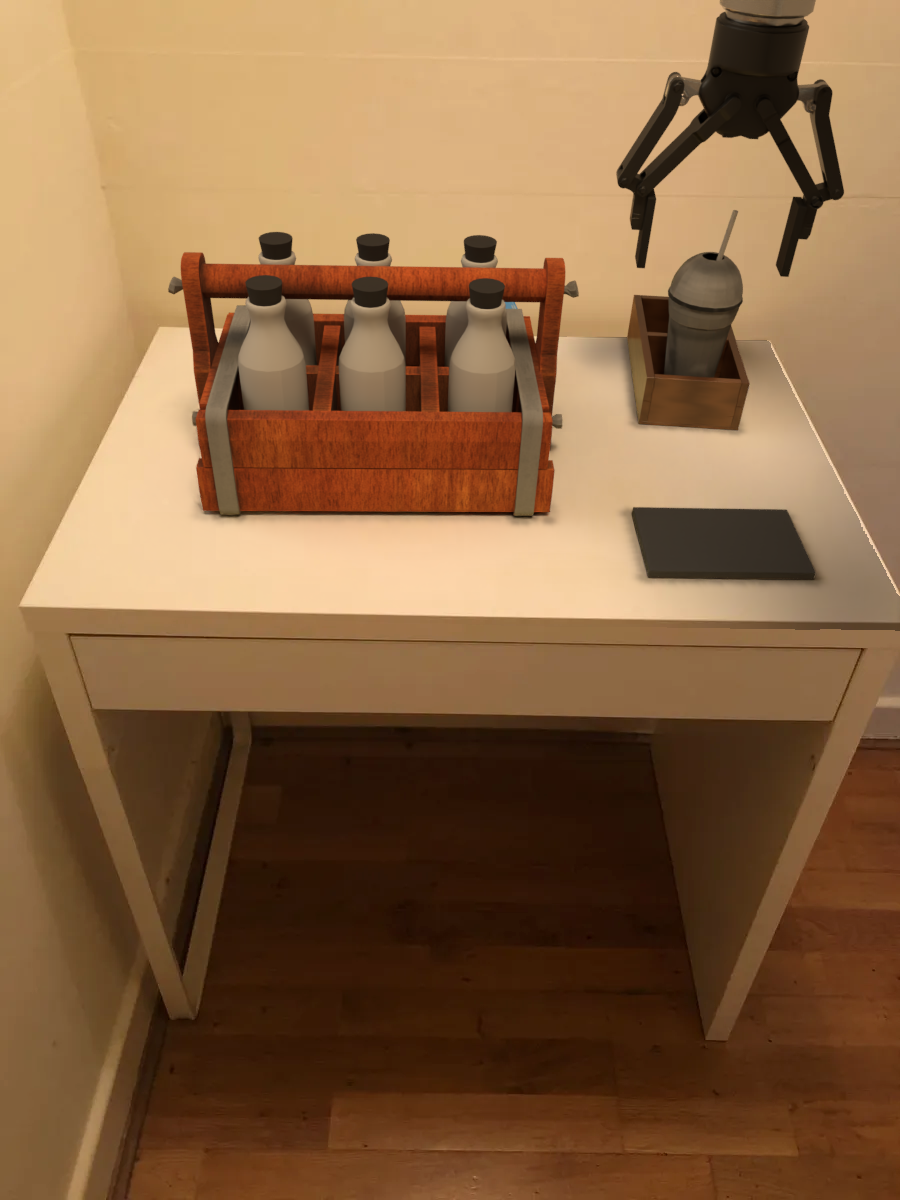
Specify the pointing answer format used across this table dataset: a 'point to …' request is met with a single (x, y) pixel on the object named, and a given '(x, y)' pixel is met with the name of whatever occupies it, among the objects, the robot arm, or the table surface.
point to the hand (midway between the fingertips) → (710, 267)
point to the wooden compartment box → (681, 395)
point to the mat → (721, 544)
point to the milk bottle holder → (374, 383)
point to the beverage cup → (702, 311)
